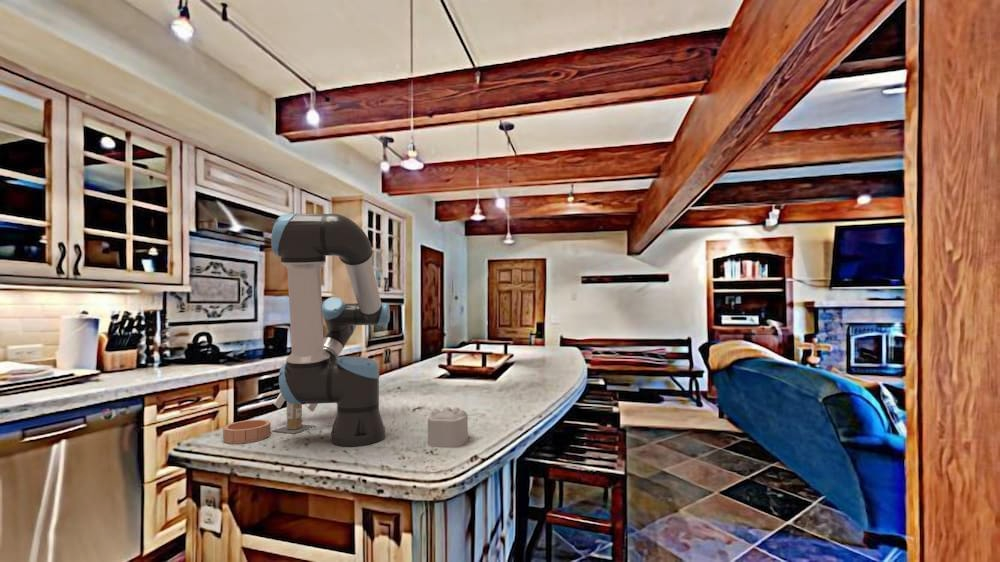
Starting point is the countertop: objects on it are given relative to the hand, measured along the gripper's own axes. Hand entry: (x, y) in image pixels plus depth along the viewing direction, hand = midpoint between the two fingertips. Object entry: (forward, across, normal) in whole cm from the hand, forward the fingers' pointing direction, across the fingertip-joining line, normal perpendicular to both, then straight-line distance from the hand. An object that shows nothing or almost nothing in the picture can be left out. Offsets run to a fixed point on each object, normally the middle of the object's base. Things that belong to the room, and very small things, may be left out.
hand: (292, 407), depth 148 cm
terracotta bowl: (+13, +6, +4) cm, 15 cm away
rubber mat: (+4, 0, -5) cm, 7 cm away
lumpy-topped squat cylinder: (+1, -52, -9) cm, 53 cm away
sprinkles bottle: (+4, 0, -5) cm, 7 cm away
